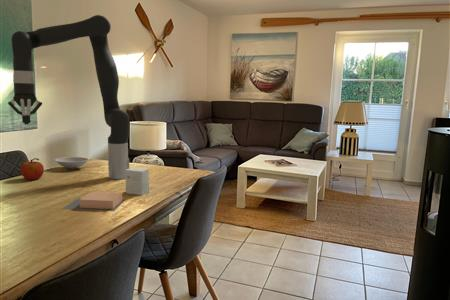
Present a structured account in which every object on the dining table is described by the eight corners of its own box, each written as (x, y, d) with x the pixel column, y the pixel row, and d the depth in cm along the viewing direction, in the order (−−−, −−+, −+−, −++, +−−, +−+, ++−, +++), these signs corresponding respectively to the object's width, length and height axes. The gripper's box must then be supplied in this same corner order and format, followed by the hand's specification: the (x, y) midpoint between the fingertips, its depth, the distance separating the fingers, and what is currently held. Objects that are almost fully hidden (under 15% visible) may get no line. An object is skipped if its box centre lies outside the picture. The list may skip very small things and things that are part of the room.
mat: (62, 210, 122) (61, 208, 122) (78, 199, 135) (78, 197, 135) (114, 212, 122) (113, 210, 122) (125, 201, 135) (125, 199, 134)
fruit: (28, 176, 168) (27, 155, 167) (48, 177, 168) (47, 156, 166) (16, 181, 159) (15, 159, 157) (37, 181, 159) (35, 160, 157)
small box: (149, 193, 147) (149, 168, 145) (142, 196, 141) (142, 171, 140) (133, 190, 149) (132, 166, 147) (125, 194, 144) (125, 169, 142)
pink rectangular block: (79, 199, 123) (112, 200, 123) (91, 191, 133) (122, 193, 133) (79, 208, 124) (113, 209, 123) (91, 199, 133) (122, 200, 133)
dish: (49, 171, 180) (49, 161, 180) (62, 165, 195) (61, 156, 194) (83, 172, 180) (83, 162, 180) (93, 166, 195) (93, 157, 194)
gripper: (5, 81, 137) (8, 125, 140) (43, 83, 144) (45, 124, 147) (5, 81, 143) (7, 123, 146) (41, 83, 150) (43, 123, 153)
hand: (26, 124), depth 147 cm, fingers closed
